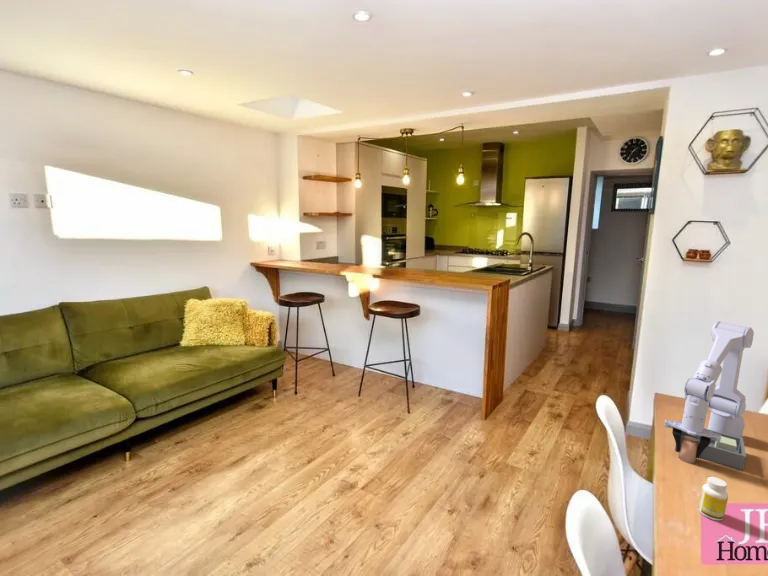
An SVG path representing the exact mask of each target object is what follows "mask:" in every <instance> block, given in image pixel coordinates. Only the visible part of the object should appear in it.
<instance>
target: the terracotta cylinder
mask: <svg viewBox="0 0 768 576" xmlns="http://www.w3.org/2000/svg"><path fill="white" fill-rule="evenodd" d="M698 445H699V441H698V440H697V439H695V438H692V437H689V436H682V437H681V443H680V449H679V452H678V454H677V458H678V459H679V460H680V461H682V462H684V463H687V464H695V463H696V459H697V458H696V455H697V450H698Z"/></svg>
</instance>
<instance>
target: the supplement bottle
mask: <svg viewBox="0 0 768 576" xmlns="http://www.w3.org/2000/svg"><path fill="white" fill-rule="evenodd" d="M727 486H728V485H727V482H726V481H724V480H723V479H721V478H718V477H715V476H708V477H707V479H706V483H704V484H703V485H702V488H701V492H700V493H701V494H700V497H699V498H700V499H699V502H698V511H699V512H700V514H701V515H702V516H703V517H706V518H707V519H710V520H713V521H722V520H723V519H724V518H725V513H726V508H727V504H728V500H729V493H728V491H727Z"/></svg>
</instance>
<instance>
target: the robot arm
mask: <svg viewBox="0 0 768 576" xmlns="http://www.w3.org/2000/svg"><path fill="white" fill-rule="evenodd" d="M754 333H755V332H754V330H753V328H752V327H749V326H742V325H737V324H732V323H727V322H722V321H719V320H718V321H716V322H715V323H714V324H713V325H712V328H711V333H710V335H711V338H712V342H713V344H712V347H711V349H710V352H709V355H708V356H707V359H704V360H701V362H700V363H699V365H698V367H697V369H696V370H695V373H694V374H693V376H692V378H690V377H689V378H687V380H686V382H685V385H684V388H683V389H684V390H683V391H684V397H683V398H684V400H685V403H684V409H683V414H682V421H680V422H679V421H674V420H668V419H665V420H664V426H663V427H664V428H666V429H669V428H670V429H672V431H671V433H672V436H673V438H674V442H675V447H676V448H677V451H676V453H679V449H680V440H681V434H682V431H683V432H687V433H688V434H690V435H694V436H696V435H697V436H700V441H699V446H698V450H697V455H696V459H700V458H699V457H700V455H701V453H702V452H703V450H704V449H705V448H706V447H707V446H708V445H709V444H710V440H711V439H712V440H715V441H716V442H719V443H720V440H721V435H720V434H717V433H714V432H711V431H709V430H713V431H717V432H720V433H724V434H728V435H731V436H735V437H739V438H743V434H744V430H745V425H746V424H745V420H744V418H743V415H744V413H745V411H746V407H747V405H746V399H747V398H746V396H745V395H744V394H743V392H742V391H740V390H739V389H738V383H739V378H740V377H739V376H740V370H741V367H742V359H743V354H744V350H745V349H747V348H748V349H750V348H751V347H752V345H753V340H754ZM721 364H722V365H721ZM719 377H720V378H719ZM718 379H720V380H719V385H717V384H716V383H717V381H718ZM708 408H709V409H708ZM708 410H709V411H710V416H709V420H708V426H707V428H706V429H709V430H706V429H704V428H705V423H706V418H707V413H708Z"/></svg>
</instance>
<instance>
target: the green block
mask: <svg viewBox="0 0 768 576" xmlns="http://www.w3.org/2000/svg"><path fill="white" fill-rule="evenodd" d="M714 447H717V448H721V449H724V450H728V451H731V452H735V453H736V448H737V445H736V440H734V439H730V438H726V437H723V436H721V440H720V443H719V442H716V441H715V446H714Z"/></svg>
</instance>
